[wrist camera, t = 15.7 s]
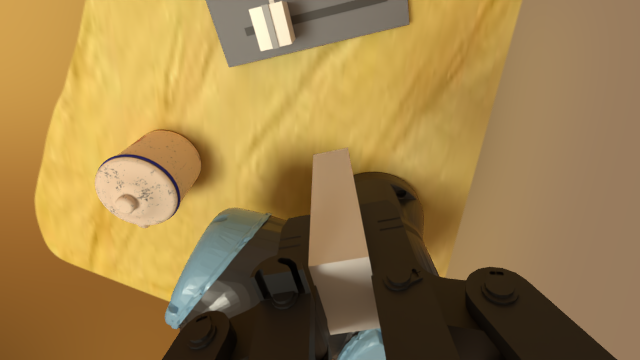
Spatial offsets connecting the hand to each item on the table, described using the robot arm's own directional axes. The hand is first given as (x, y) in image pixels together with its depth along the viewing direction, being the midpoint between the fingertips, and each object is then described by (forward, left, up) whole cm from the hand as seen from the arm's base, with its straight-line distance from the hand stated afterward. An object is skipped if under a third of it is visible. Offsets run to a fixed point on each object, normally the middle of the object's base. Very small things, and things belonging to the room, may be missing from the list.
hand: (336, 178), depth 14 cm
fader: (+6, +4, -24) cm, 25 cm away
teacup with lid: (-8, +24, -27) cm, 37 cm away
